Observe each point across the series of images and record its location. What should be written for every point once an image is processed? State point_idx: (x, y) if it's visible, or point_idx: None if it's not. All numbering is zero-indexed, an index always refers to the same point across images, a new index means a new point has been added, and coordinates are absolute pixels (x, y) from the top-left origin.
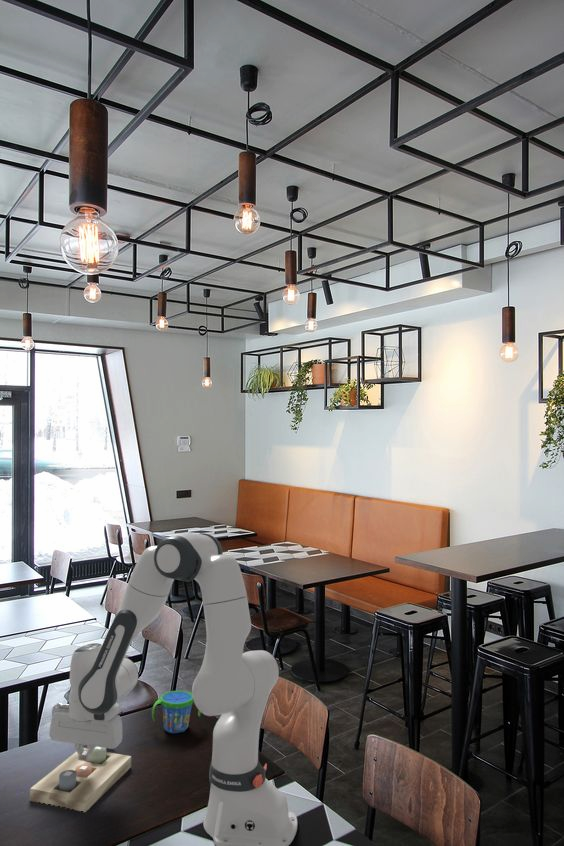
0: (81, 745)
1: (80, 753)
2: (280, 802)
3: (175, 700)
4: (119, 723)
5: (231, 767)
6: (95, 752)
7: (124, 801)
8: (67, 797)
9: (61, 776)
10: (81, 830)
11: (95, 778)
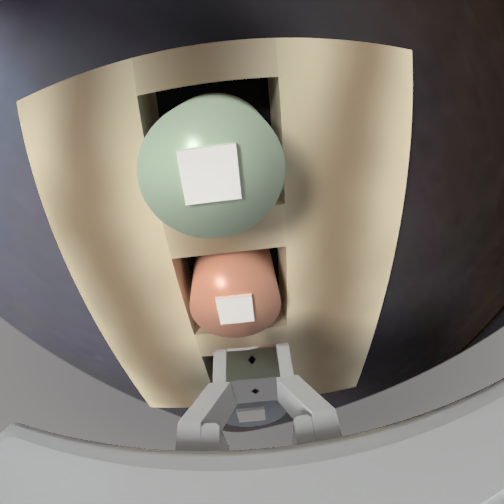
0: (206, 418)
1: (235, 406)
2: None
3: None
4: None
5: None
6: (231, 235)
7: (437, 280)
8: None
9: (239, 423)
10: (365, 386)
11: (331, 313)
